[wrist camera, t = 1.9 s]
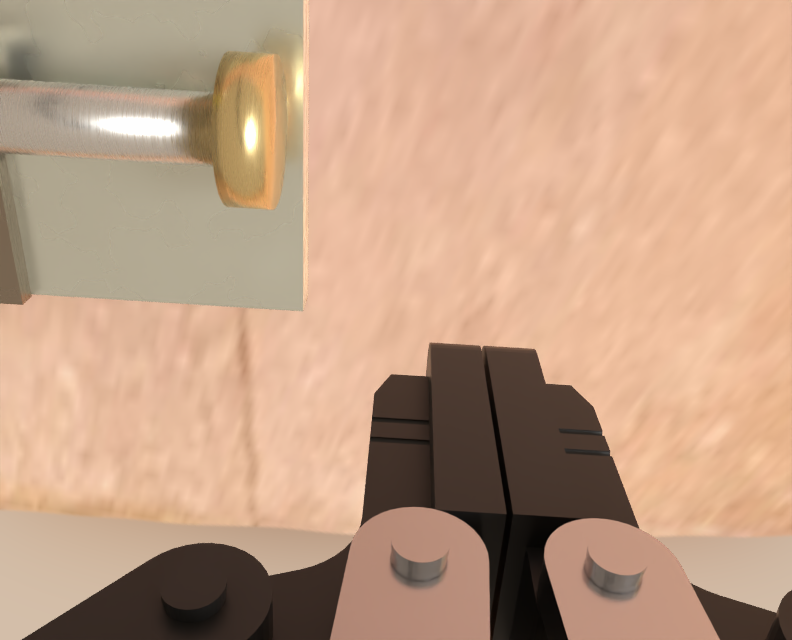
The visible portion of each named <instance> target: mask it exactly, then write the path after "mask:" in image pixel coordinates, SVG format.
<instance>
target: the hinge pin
mask: <svg viewBox="0 0 792 640" xmlns="http://www.w3.org/2000/svg"><path fill="white" fill-rule="evenodd" d="M287 123H288V118H287V93H286V82H285V75H284V69H283V65H282V61H281V59H280V57H279V55H278V54H271V53H256V52H240V51H227V52H226V53H225V54H224V55H223V57H222V59H221V61H220V64H219V67H218V71H217V75H216V80H215V85H214V92H203V91H187V90H171V89H156V88H140V87H124V86H108V85H93V84H77V83H61V82H45V81H29V80H14V79H0V153H1V154H17V155H33V156H48V157H64V158H80V159H96V160H112V161H127V162H143V163H159V164H175V165H191V166H206V167H213V169H214V176H215V182H216V186H217V190H218V194H219V196H220V199H221V201H222V203H223V204H224V205H225V206H226V207H233V208H249V209H265V210H274V209H275V208H276V207H277V205H278V203H279V200H280V196H281V192H282V187H283V181H284V174H285V165H286V153H287Z"/></svg>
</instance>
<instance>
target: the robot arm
mask: <svg viewBox="0 0 792 640" xmlns="http://www.w3.org/2000/svg"><path fill="white" fill-rule="evenodd" d="M22 640H792V591H790V592H788V593H787V594H786V595H785V596H784V598H783V599H782V601H781V603H780V606H779V608H778V611H777V613H775V612H772V611H769V610H765V609H762V608H759V607H756V606H752V605H749V604H746V603H743V602H739V601H736V600H733V599H729V598H726V597H723V596H719V595H717V594H714V593H711V592H708V591H706V590H704V589H702V588H699V587H697V586H695V585H693V584H691V583H690V581H689V579H688V578H687V576H686V574H685V572H684V570H683V568H682V566H681V564H680V563H679V561H678V560H677V558H676V557H675V556H674V555H673V553H672V552H671V551H670V550H669V549H668V548H667V547H666V546H665V545H663V544H662V543H661V542H660V541H658V540H657V539H656V538H654V537H653V536H651V535H650V534H648V533H646V532H644V531H642V530H640V529H639V527H638V524H637V521H636V519H635V516H634V513H633V511H632V508H631V505H630V503H629V500H628V497H627V495H626V492H625V489H624V487H623V484H622V482H621V479H620V476H619V474H618V471H617V468H616V466H615V463H614V460H613V458H612V456H610V450H609V447H608V444H607V442H606V439H605V437H604V436H602V429H601V426H600V423H599V421H598V418H597V415H596V413H595V410H594V407H593V406H592V405H591V404H590V403H589V402H588V401H587V400H585V399H584V398H583V397H582V396H581V395H580V394H579V393H578V392H577V391H576V390H575V389H574V388H573V387H572V386H571V385H555V384H546V383H545V380H544V376H543V373H542V369H541V366H540V363H539V359H538V356H537V353H536V350H535V349H526V348H510V347H494V346H483V348H482V351H481V347H480V346H475V345H460V344H444V343H430V344H429V350H428V359H427V370H426V377H425V376H409V375H393V374H391V375H390V376H389V378H388V379H387V380H386V381H385V382H384V383H383V384H382V385H381V387H380V388H379V389H378V390H377V391H376V392H375V393H374V404H373V414H372V424H371V434H370V444H369V454H368V465H367V475H366V485H365V495H364V505H363V515H362V521H361V526H360V528H359V530H358V531H357V533H356V534H355V536H354V537H353V540H352V542H351V543H350V544H349V545H348V546H347V547H346V548H345V549H344V550H342V551H341V552H340V553H338V554H337V555H335V556H334V557H332V558H330V559H328V560H327V561H325V562H322V563H320V564H317V565H315V566H312V567H308V568H305V569H301V570H296V571H291V572H286V573H281V574H276V575H271V576H268V573H267V571H266V570H265V568H264V567H263V566H262V564H261V563H260V562H259V561H258V560H257V559H256V558H254V557H253V556H252V555H250V554H248V553H247V552H245V551H243V550H240V549H238V548H236V547H232V546H228V545H224V544H215V543H200V544H199V543H198V544H192V545H185V546H182V547H178V548H174V549H171V550H169V551H166V552H164V553H162V554H160V555H158V556H156V557H154V558H152V559H150V560H149V561H147V562H146V563H144V564H142V565H141V566H139V567H137V568H136V569H134V570H133V571H131V572H129V573H128V574H126V575H125V576H123V577H122V578H120V579H118V580H117V581H115V582H114V583H112V584H110V585H109V586H107V587H105V588H104V589H102V590H101V591H99V592H97V593H96V594H94V595H92V596H91V597H89V598H88V599H86V600H85V601H83V602H81V603H80V604H78V605H76V606H75V607H73V608H72V609H70V610H69V611H67V612H66V613H64V614H62V615H60V616H59V617H57V618H56V619H54V620H52V621H51V622H49V623H48V624H46V625H44V626H43V627H41V628H40V629H38V630H37V631H35V632H33V633H32V634H30V635H28V636H27V637H25V638H24V639H22Z"/></svg>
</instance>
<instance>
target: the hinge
mask: <svg viewBox="0 0 792 640" xmlns="http://www.w3.org/2000/svg"><path fill="white" fill-rule="evenodd" d="M227 51H240V52H256V53H271V54H278V55H279V57H280V59H281V61H282V65H283V69H284V75H285V82H286V93H287V118H288V123H287V153H286V165H285V174H284V181H283V187H282V192H281V196H280V200H279V203H278V205H277V207H276V208H275V209H274V210H265V209H249V208H233V207H226V206H225V205H224V204H223V203H222V201H221V199H220V196H219V194H218V190H217V186H216V182H215V176H214V169H213V167H206V166H191V165H175V164H159V163H143V162H127V161H112V160H96V159H80V158H64V157H48V156H33V155H17V154H1V153H0V303H4V304H19V305H23V304H24V303H25V302H26V301H27V300H28V299H29V298H30V297H32V295H31V294H36V295H52V296H68V297H84V298H100V299H116V300H132V301H148V302H164V303H180V304H196V305H211V306H227V307H243V308H259V309H275V310H291V311H303V310H304V307H305V304H306V301H307V297H308V138H309V0H0V79H14V80H29V81H45V82H61V83H77V84H93V85H108V86H124V87H140V88H156V89H171V90H187V91H203V92H214V85H215V80H216V75H217V71H218V67H219V64H220V61H221V59H222V57H223V55H224V54H225V53H226V52H227Z"/></svg>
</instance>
